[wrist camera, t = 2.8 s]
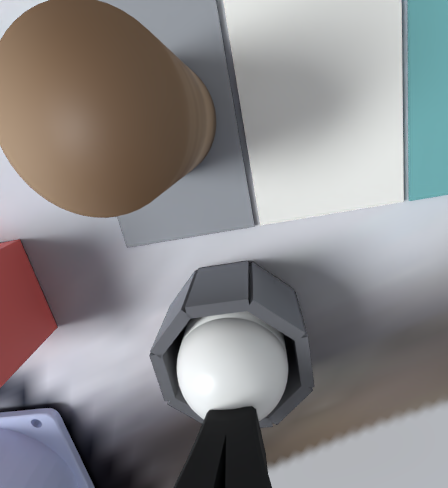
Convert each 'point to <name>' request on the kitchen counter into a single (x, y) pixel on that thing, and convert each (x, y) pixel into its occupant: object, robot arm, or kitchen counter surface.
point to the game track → (303, 110)
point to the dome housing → (232, 301)
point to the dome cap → (232, 364)
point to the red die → (20, 310)
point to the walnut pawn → (98, 108)
